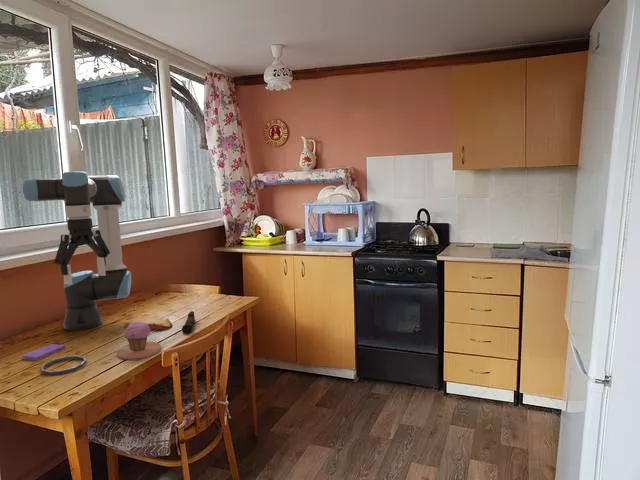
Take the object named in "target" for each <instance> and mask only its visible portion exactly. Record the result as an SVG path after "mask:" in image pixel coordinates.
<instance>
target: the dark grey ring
mask: <svg viewBox="0 0 640 480" xmlns="http://www.w3.org/2000/svg"><path fill="white" fill-rule="evenodd" d="M75 360H76V361H82V362H80V363H79V364H76V365H75V366H72V367H69V368H65V369H61V370H48V369H46V368H47V367H49V366H51V365H54V364H56V363H60V362H65V361H75ZM86 364H87V359H86V357H85V356H82V355H69V356H68V355H67V356H62V357H58V358H57V357H56V358H53V359H52V360H49V361H46V362H45V363H44V364H42V365H41V367H40V371H41V373H42V375H46V376H58V375H60V376H61V375H64V374H68V373H73V372H76V371H77V370H79V369H81V368H84V366H86Z"/></svg>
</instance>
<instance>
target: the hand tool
mask: <svg viewBox="0 0 640 480" xmlns="http://www.w3.org/2000/svg"><path fill="white" fill-rule="evenodd" d="M195 318H196V317H195V312H194V311H193V310H192V311H189V312H188V313H187V319H186V321H185V323H184V325H182V328H181V332H182V333H183V334H184V335H185V334H187V335H188V334H191V333H192V332H193V327H194V324H195Z"/></svg>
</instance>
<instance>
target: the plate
mask: <svg viewBox="0 0 640 480" xmlns="http://www.w3.org/2000/svg"><path fill="white" fill-rule="evenodd" d="M161 351H162V345H161V343H159V342H156V341H147V343H146V346H145V348H144V349H143V350H139V351H131V350H130V347H129V344H126V345H124V346H123V347H121V348H119V349H118V350H117V351H116V356H117V358H118V359H120V360H127V361H129V360H130V361H131V360H133V361H134V360H142V359H146V358H149V357H152V356H154V355H157V354H158V353H160V352H161Z"/></svg>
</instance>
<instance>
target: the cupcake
mask: <svg viewBox="0 0 640 480" xmlns="http://www.w3.org/2000/svg"><path fill="white" fill-rule="evenodd" d="M150 334H151V330H150V327H149V326H148V324H147V323H142V322H134V323H131V324H129V325H128V327H127V328H125V331H124V338H125V339H127V341H128V345H129V347H130V350H131V351H139V350H143V349H144V348H145V346H146V343H147V342H148V337H149V335H150Z"/></svg>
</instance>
